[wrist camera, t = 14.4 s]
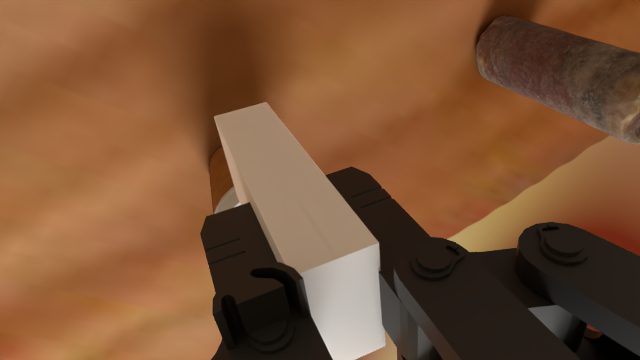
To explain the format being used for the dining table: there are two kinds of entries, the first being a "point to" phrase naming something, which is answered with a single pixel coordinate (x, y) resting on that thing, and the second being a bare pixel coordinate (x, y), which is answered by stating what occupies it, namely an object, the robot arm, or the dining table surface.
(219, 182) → the disposable coffee cup
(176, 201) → the dining table surface
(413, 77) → the dining table surface
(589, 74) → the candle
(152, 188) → the dining table surface
